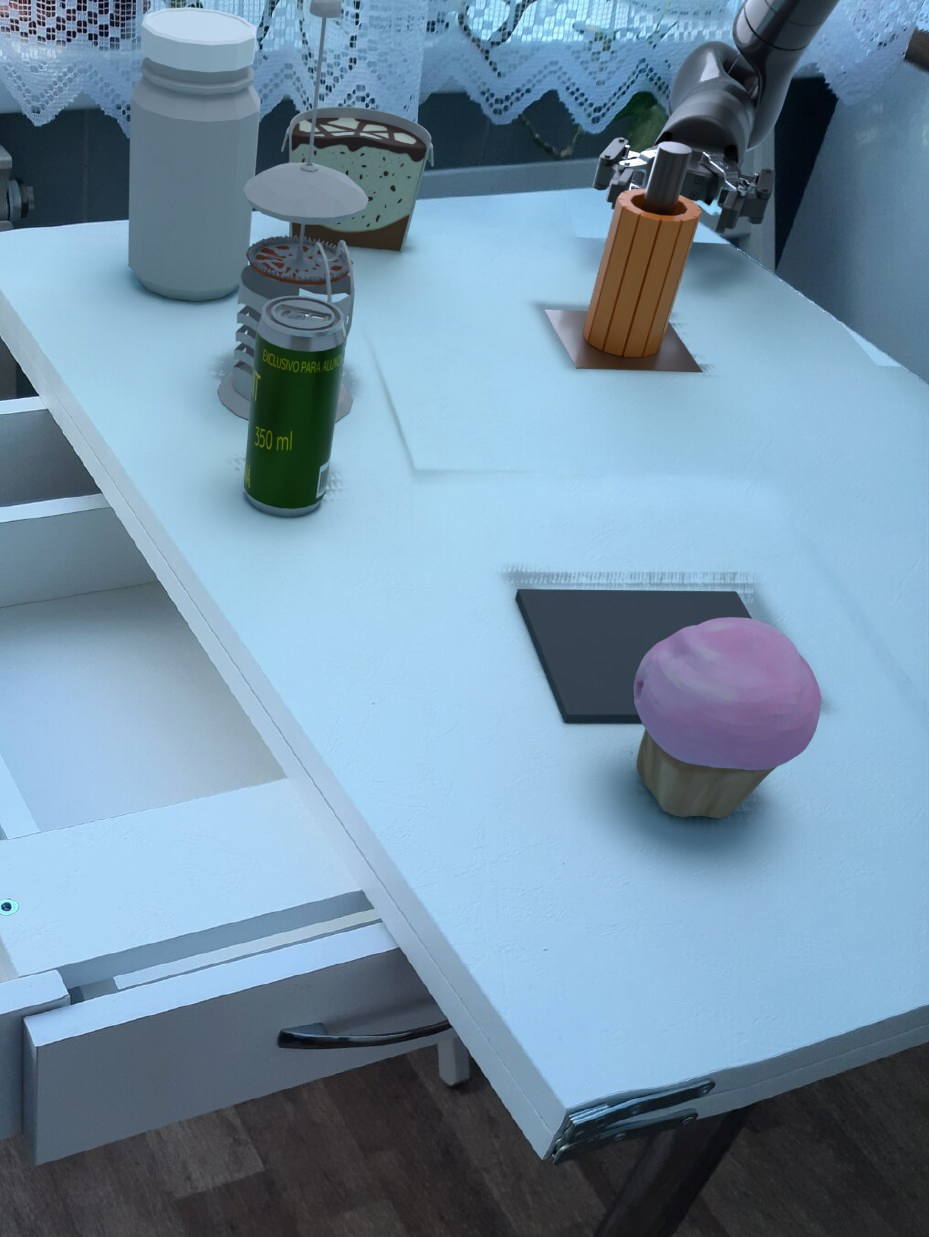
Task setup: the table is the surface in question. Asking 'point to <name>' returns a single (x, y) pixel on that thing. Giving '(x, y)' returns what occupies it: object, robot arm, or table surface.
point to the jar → (192, 153)
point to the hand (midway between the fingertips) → (670, 209)
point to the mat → (609, 641)
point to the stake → (672, 351)
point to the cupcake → (721, 713)
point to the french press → (295, 247)
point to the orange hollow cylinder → (639, 276)
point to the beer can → (293, 404)
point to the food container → (365, 170)
